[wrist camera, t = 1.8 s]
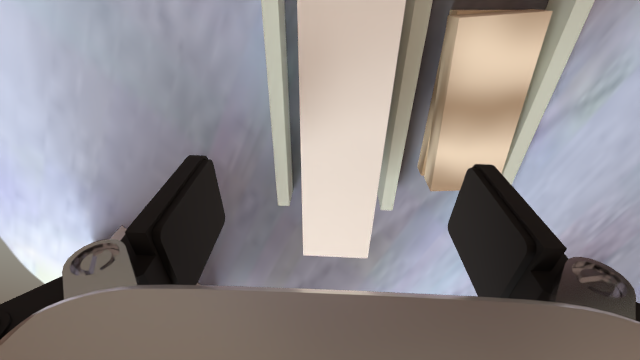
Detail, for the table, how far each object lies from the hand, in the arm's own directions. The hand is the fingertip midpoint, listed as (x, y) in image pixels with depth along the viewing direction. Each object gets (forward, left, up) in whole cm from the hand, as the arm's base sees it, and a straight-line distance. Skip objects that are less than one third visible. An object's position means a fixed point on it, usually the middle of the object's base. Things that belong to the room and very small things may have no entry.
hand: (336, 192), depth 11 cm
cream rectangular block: (-1, 0, -14) cm, 14 cm away
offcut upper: (-1, -10, -12) cm, 16 cm away
